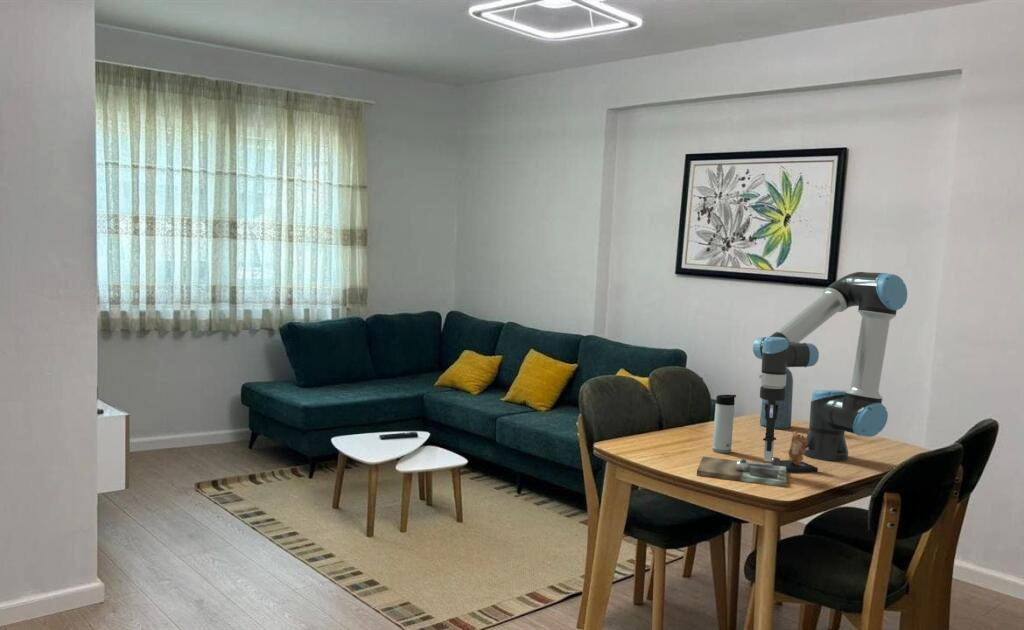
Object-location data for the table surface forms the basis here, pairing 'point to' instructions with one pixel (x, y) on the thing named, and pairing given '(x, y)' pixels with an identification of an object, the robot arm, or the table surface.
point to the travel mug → (723, 423)
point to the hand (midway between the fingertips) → (768, 460)
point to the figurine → (797, 456)
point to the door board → (741, 472)
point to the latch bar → (757, 464)
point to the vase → (781, 406)
